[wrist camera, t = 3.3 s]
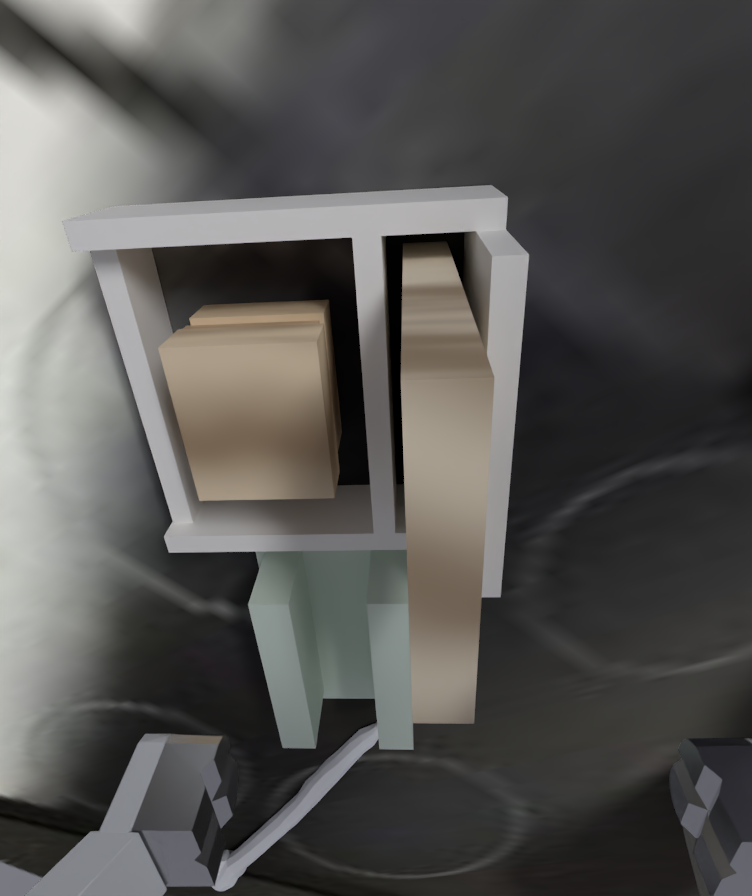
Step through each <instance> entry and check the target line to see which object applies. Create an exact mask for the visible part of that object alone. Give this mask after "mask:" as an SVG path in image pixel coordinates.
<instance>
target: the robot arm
mask: <svg viewBox="0 0 752 896" xmlns="http://www.w3.org/2000/svg"><path fill="white" fill-rule="evenodd" d="M230 749H231V743H230V740H229V738H228V735H189V734H145V735H144V736H143V737H142V739H141V740H140V741H139V743H138V744H137V746H136V748H135V751H134V753H133V755H132V757H131V760H130V762H129V764H128V766H127V769H126V771H125V773H124V776H123V778H122V780H121V782H120V785H119V787H118V789H117V791H116V794H115V796H114V798H113V801H112V803H111V805H110V807H109V810H108V812H107V814H106V816H105V819H104V821H103V823H102V826H101V828H100V830H99V831H91V832H90V833H89V834H88V835H86V836H85V837H84V838H83V839H82V840H81V841H80V842H79V843H78V844H77V845H76V846H75V847H74V848H73V849H72V850H71V851H70V852H69V853H68V854H67V855H66V856H65V857H64V858H63V859H62V860H61V861H60V862H59V863H58V864H56V865H55V866H54V867H53V868H52V869H51V870H50V871H49V872H48V873H47V874H46V875H45V876H44V877H43V878H42V879H41V880H40V881H39V882H38V883H37V884H36V885H35V886H34V887H33V888H32V889H31V890H30V891H29V892H28V893H27V894H26V895H24V896H163V895H164V893H165V892H166V891H167V888H166V886H215V883H216V879H217V875H218V871H219V867H220V863H221V859H222V856H223V852H224V848H225V844H226V842H225V839H224V836H223V834H222V831H221V828H222V827H223V826H224V825H225V823H226V822H227V821H228V820H229V819H230V818H231V817H232V816H233V812H234V807H235V803H236V799H237V791H238V782H239V776H238V766H237V763H236V760H235V759H234V758H232V757H231V756H230V755H229V752H230ZM678 751H679V753H680V755H681V758H682V759H681V760H680V761H678V762H676V763H675V764H673V765H672V769H671V772H670V776H669V781H670V793H671V797H672V801H673V805H674V808H675V811H676V813H677V816H678V818H679V821H680V823H681V824H682V825H683V826H684V827H685V828H686V829H687V830H688V831H689V832H690V833H691V834H692V835H693V836H694V837H695V838H696V840H695V844H694V848H693V852H692V853H693V856H694V858H695V861H696V863H697V865H698V868H699V870H700V873H701V875H702V878H703V880H704V882H705V885H706V887H707V890H708V892H709V895H710V896H752V738H688V739H685V740H683V741H681V744H680V746H679V749H678Z"/></svg>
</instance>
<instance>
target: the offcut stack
mask: <svg viewBox="0 0 752 896" xmlns="http://www.w3.org/2000/svg"><path fill="white" fill-rule="evenodd" d="M189 319H190V323H191V325H190V326H185V327H184V328H183V329H178V330H177V331H176V332H175V333H174V334H173V335H171V336H170V337H169V338H168V339H167V340H166V341H165V342H164V343H163V344H162V345H161V346H160V347H158V350H159V354H160V357H161V361H162V365H163V368H164V372H165V376H166V380H167V383H168V387H169V391H170V394H171V398H172V402H173V405H174V409H175V413H176V416H177V420H178V424H179V428H180V431H181V435H182V439H183V442H184V446H185V450H186V453H187V457H188V461H189V464H190V468H191V472H192V476H193V479H194V483H195V487H196V490H197V494H198V498H199V501H218V500H272V499H326V498H335V494H336V488H337V483H338V478H339V472H340V469H339V460H338V449H339V444H340V439H341V434H342V427H341V417H340V406H339V396H338V386H337V376H336V366H335V356H334V346H333V336H332V325H331V315H330V305H329V300H309V301H285V302H262V303H238V304H215V305H203V306H202V307H201V308H200V309H199V310H198V311H197V312H196V313H195V314H194V315H192V316H191V317H190V318H189Z"/></svg>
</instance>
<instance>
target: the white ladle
mask: <svg viewBox="0 0 752 896" xmlns="http://www.w3.org/2000/svg"><path fill="white" fill-rule="evenodd" d="M377 740H378V727H377V723H374V724H372V725H370V726H367V727H365V728H362V729H360V730H358V731H357V732H356V733H355V734H354V735H353V736H352V737H351V738H350V739H349V740H348V741H347V742H346V743H345V744H344V745H343V746H342V747H340V748H339V749H338V750H337V751H336V752H335V753H334V754H333V755H331V756H330V757H329V758H328V759H327V760H326V761H324V763H323V764H322V765H321V766H320V767H319V769H318V770H317V771H316V772H315V773H314V774H313V775H312V776H311V777H309V778H308V779H307V780H306V781H305V783H304V784H303V786H302V787H301V789H300V791H299V792H298V794H297V795H295V796H294V797H293V798H292V799H291V800H290V801H289V802H288V803H287V804H286V805H285V806H284V807H283V808H282V809H281V810H280V811H278V812H277V813H276V814H275V815H274V816H273V817H272V818H270V819H269V820H268V821H267V822H266V823H265V824H264V825H263V826H262V827H261V828H260V829H259V830H258V831H256V832H255V833H254V834H253V835H252V836H251V837H250V838H249V839H247V840H246V841H245V842H244V843H243V844H242V845H241V846H240V847H239V848H238V849H236V850H235V851H231V850H224V852H223V856H222V859H221V863H220V867H219V871H218V875H217V879H216V883H215V886H212V887H213V888H214V889H215V890H217V891H225V890H227V889H229V888H231V887H233V886H234V885H235V883H236V881H237V879H238V877H240V876H241V875H242V874H243V873H244V872H245V870H246V867H248V866H249V865H250V864H251V863H253V862H254V861H255V860H256V859H257V858H258V857H260V856H261V855H262V854H263V853H264V852H265V851H266V850H267V849H268V848H270V847H271V846H272V845H273V844H274V843H275V842H276V841H277V840H279V839H280V838H281V837H282V836H283V835H284V834H285V833H287V832H288V831H289V830H290V829H291V828H292V827H294V826H295V825H296V824H297V823H298V822H299V821H300V820H301V819H302V818H303V817H304V816H305V815H306V814H307V813H308V812H309V811H310V810H311V809H312V808H313V807H314V806H315V805H316V804H317V803H318V802H319V801H320V800H321V799H322V798H323V796H324V795H325V794H326V793H327V792H328V791H329V790H330V789H331V788H332V787H333V786H334V785H335V784H336V783H337V782H338V780H339V779H340V778H341V777H342V776H343V775H344V774H345V773H346V772H347V771H348V770H349V768H350V767H351V766H352V765H353V764H354V763H355V762H356V761H357V760H358V759H359V758H360V757H361V755H362V754H363V753H365V752H366V751H367V750H369V749H370V748H371V747H373V746H374V744H375V743H376V741H377Z"/></svg>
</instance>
